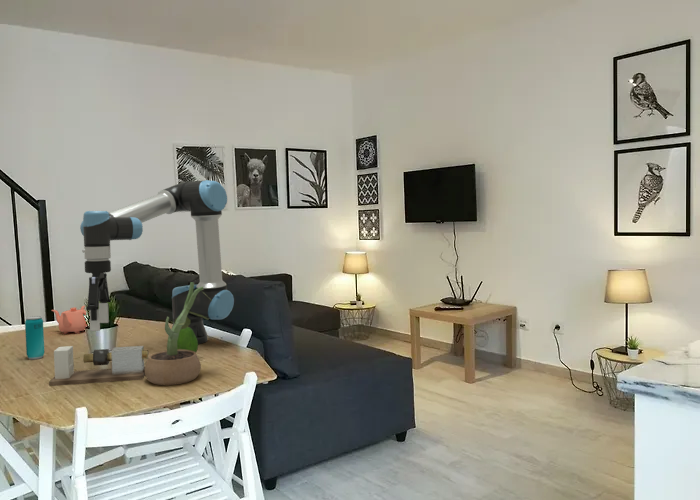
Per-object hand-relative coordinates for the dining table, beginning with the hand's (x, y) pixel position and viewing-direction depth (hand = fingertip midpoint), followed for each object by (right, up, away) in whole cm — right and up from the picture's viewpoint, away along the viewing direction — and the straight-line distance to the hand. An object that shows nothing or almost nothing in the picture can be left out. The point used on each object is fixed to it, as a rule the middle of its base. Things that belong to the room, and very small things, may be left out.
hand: (99, 326), depth 180 cm
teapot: (-45, -13, +73) cm, 87 cm away
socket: (-10, -17, -1) cm, 20 cm away
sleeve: (+8, -15, +3) cm, 17 cm away
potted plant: (+26, -16, +1) cm, 31 cm away
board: (0, -16, +1) cm, 16 cm away
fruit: (+21, -15, +24) cm, 35 cm away
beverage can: (-35, -15, +27) cm, 47 cm away
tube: (+5, -12, +2) cm, 13 cm away
